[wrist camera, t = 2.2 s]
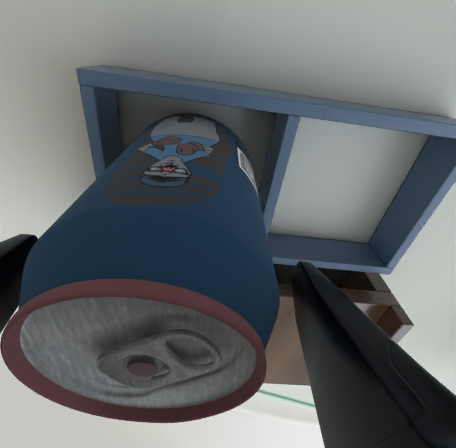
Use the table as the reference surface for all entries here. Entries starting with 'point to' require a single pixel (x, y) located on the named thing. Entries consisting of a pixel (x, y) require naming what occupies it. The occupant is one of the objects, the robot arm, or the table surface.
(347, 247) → the blue rack
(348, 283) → the shelf
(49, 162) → the table surface
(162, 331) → the soda can
